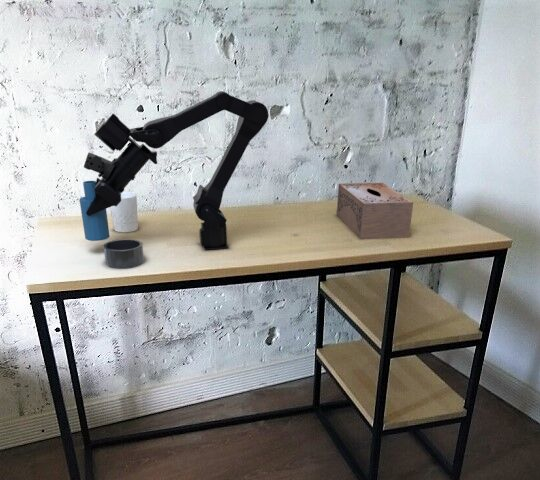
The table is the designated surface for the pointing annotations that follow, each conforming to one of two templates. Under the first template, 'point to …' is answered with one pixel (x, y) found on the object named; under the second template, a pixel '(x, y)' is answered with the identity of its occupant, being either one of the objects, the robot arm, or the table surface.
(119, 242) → the cup holder
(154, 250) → the table surface
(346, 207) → the tissue box cover
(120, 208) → the white cup
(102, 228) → the bottle
